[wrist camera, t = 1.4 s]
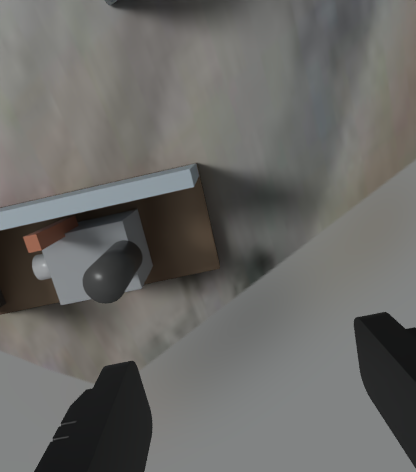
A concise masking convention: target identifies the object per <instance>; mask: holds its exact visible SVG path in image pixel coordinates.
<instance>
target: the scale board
mask: <svg viewBox="0 0 416 472" xmlns="http://www.w3.org/2000/svg"><path fill="white" fill-rule="evenodd" d="M198 177H199V173H198V169H197V164H191V165H187V166H182V167H178V168H174V169H169V170H165V171H161V172H156V173H152V174H147V175H143V176H139V177H134V178H130V179H125V180H121V181H117V182H112V183H108V184H104V185H99V186H95V187H90V188H86V189H82V190H77V191H73V192H68V193H64V194H60V195H55V196H51V197H47V198H42V199H38V200H33V201H29V202H25V203H20V204H16V205H11V206H7V207H3V208H0V230H5V229H9V228H14V227H18V226H23V225H27V224H31V223H36V222H40V221H45V220H49V219H54V218H58V217H63V216H67V215H72V214H76V213H81V212H85V211H89V210H94V209H98V208H103V207H107V206H112V205H116V204H121V203H125V202H130V201H134V200H139V199H143V198H147V197H152V196H156V195H161V194H165V193H170V192H174V191H179V190H183V189H188V188H192V187H194V186H195V184H196V182H197V179H198Z"/></svg>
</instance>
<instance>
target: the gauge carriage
mask: <svg viewBox="0 0 416 472" xmlns="http://www.w3.org/2000/svg"><path fill="white" fill-rule="evenodd" d="M23 238H24V241H25V244H26V247H27V250H28V252H29V253H32V252H36V251H41V250H42V252H43V254H39V255H35V256H34V258H33V260H32V268H33V272H34V274H35V276H36V277H37V278H38V279H39V280H45V279H50V278H52V281H53V284H54V287H55V289H56V292H57V295H58V298H59V301H60V304H61V305H65V304H70V303H75V302H80V301H84V300H89V299H93V300H95V301H97V302H99V303H112V302H115V301H117V300H118V299H119V298H120V297H121V296H122V295H123V294H124V292H128V291H132V290H137V289H142V287H143V285H144V283H145V281H146V279H147V277H148V275H149V273H150V271H151V269H152V267H153V264H152V260H151V257H150V253H149V249H148V246H147V242H146V238H145V235H144V231H143V227H142V224H141V220H140V216H139V213H138V209H135V210H130V211H126V212H121V213H117V214H112V215H108V216H103V217H99V218H94V219H90V220H85V221H81V222H77V219H76V216H71V217H66V218H64V219H61V220H59V221H57V222H55V223H53V224H50V225H48V226H46V227H44V228H42V229H40V230H37V231H35V232H33V233H31V234H29V235H26V236H24V237H23Z"/></svg>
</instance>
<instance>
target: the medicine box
mask: <svg viewBox="0 0 416 472" xmlns="http://www.w3.org/2000/svg"><path fill="white" fill-rule="evenodd" d="M116 1H118V0H105V2H106V3H107V4H108V5H112V4H113V3H115V2H116Z"/></svg>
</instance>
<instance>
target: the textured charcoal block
mask: <svg viewBox="0 0 416 472" xmlns="http://www.w3.org/2000/svg"><path fill="white" fill-rule="evenodd" d="M5 304H6V301H5V299H4V296H3V293H2V291H1V288H0V308H1V307H2V306H3V305H5Z"/></svg>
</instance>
